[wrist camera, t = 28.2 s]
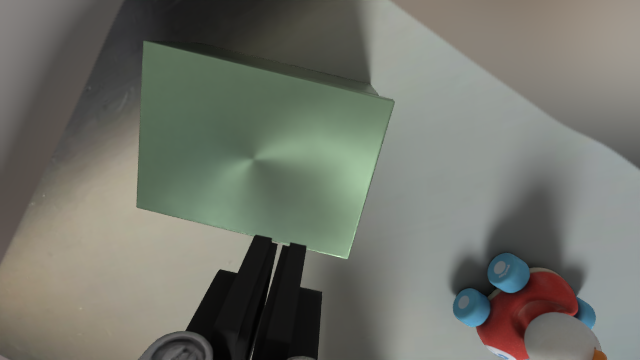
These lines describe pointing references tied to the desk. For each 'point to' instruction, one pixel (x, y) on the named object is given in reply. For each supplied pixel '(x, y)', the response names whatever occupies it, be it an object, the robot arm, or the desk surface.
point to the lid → (256, 148)
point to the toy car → (529, 314)
